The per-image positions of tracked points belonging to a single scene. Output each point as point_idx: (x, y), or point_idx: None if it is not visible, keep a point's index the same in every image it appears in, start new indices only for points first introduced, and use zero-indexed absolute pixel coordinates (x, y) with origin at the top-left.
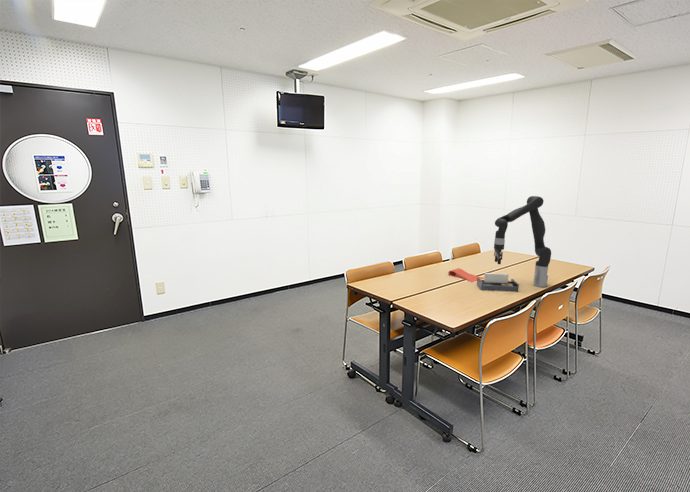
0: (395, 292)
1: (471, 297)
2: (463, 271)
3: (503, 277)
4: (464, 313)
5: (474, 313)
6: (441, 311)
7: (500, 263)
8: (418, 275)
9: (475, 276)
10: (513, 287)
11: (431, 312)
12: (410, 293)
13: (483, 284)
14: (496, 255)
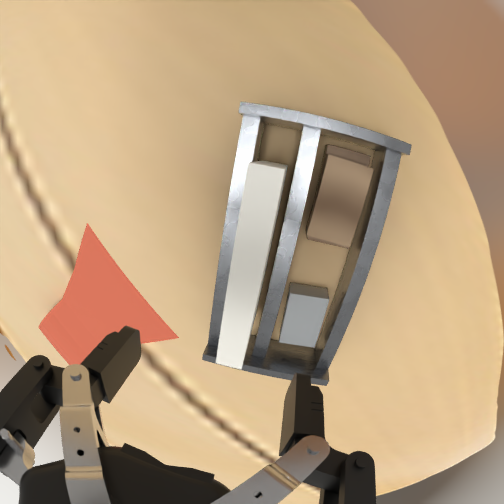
0: (294, 500)
1: (399, 410)
2: (57, 318)
3: (276, 214)
4: (473, 430)
5: (486, 414)
6: (439, 460)
7: (309, 382)
8: (128, 437)
9: (84, 275)
10: (392, 181)
11: (432, 469)
12: (308, 491)
13: (279, 340)
14: (101, 431)
